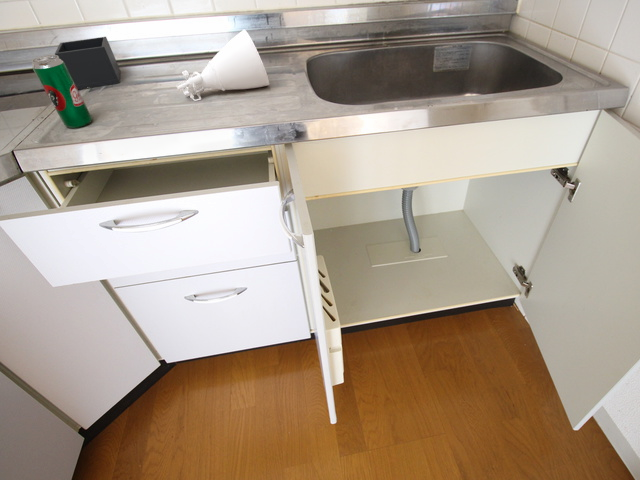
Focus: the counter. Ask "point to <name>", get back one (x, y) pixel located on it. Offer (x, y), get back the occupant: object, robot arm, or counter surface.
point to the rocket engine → (229, 69)
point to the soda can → (61, 91)
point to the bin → (90, 62)
